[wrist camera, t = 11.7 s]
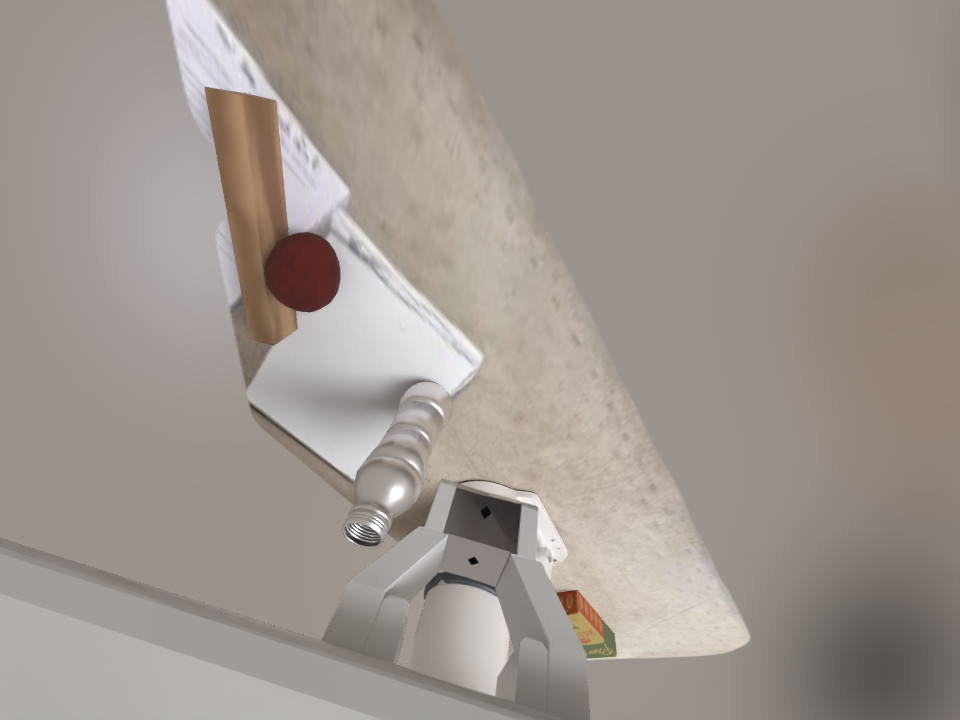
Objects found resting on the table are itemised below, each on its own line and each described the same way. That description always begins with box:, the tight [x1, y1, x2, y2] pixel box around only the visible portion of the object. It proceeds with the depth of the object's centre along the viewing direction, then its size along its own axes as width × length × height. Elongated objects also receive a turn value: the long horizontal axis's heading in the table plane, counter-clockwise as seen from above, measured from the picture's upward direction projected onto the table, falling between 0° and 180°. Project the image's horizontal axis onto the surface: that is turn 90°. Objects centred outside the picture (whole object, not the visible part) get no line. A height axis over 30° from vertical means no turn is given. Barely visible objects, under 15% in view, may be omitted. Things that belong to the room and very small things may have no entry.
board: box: [205, 87, 297, 346], centre depth 37 cm, size 3×24×4 cm, turn 169°
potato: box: [265, 232, 340, 312], centre depth 37 cm, size 7×8×7 cm
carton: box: [557, 590, 617, 658], centre depth 67 cm, size 8×16×4 cm, turn 34°
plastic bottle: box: [342, 382, 452, 548], centre depth 39 cm, size 6×7×20 cm
